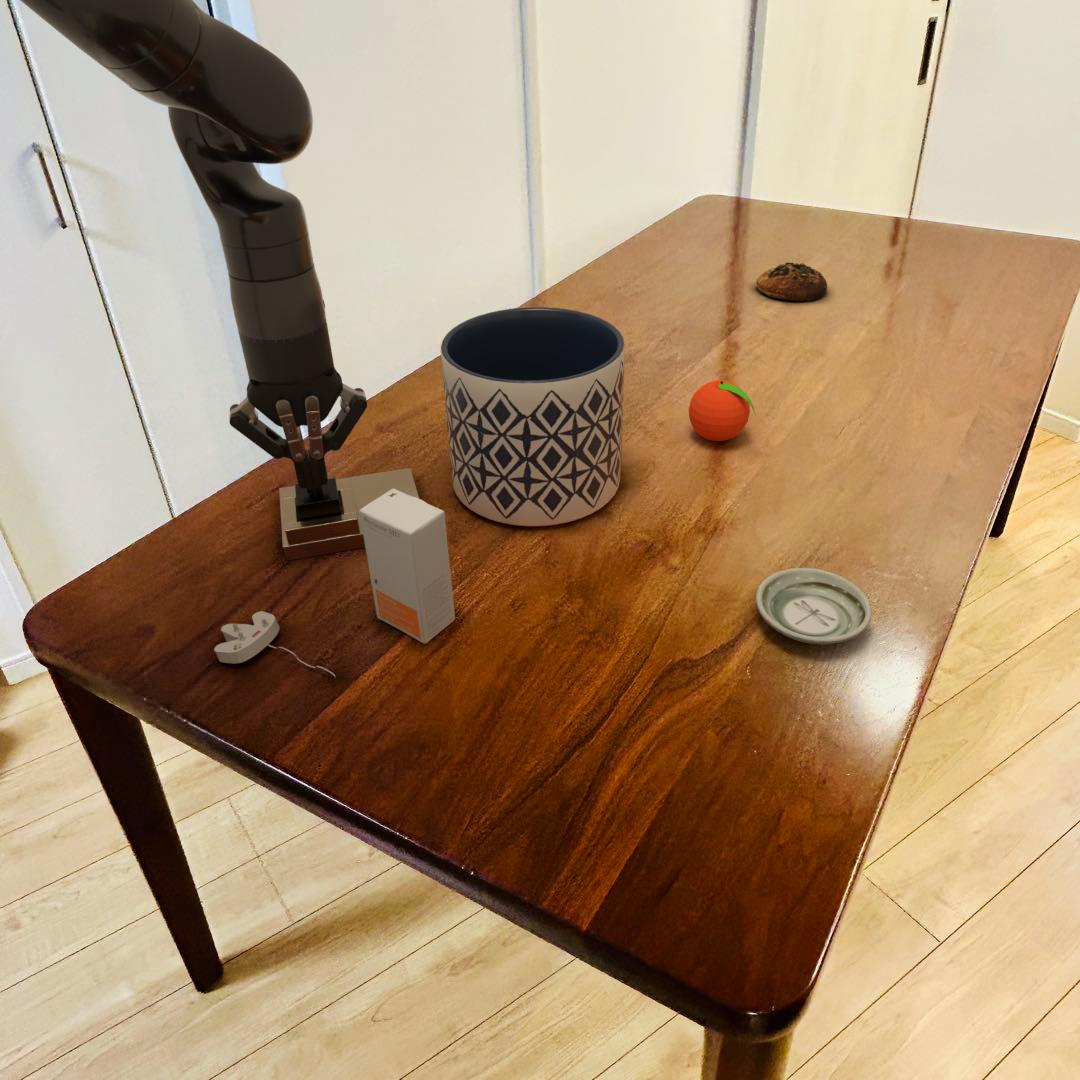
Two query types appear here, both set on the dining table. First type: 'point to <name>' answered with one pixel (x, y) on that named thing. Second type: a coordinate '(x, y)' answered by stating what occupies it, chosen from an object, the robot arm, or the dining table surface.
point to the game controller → (249, 639)
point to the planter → (534, 413)
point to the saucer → (813, 606)
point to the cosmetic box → (409, 564)
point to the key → (318, 502)
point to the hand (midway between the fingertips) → (314, 487)
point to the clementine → (719, 410)
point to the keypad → (341, 528)
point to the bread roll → (792, 282)
